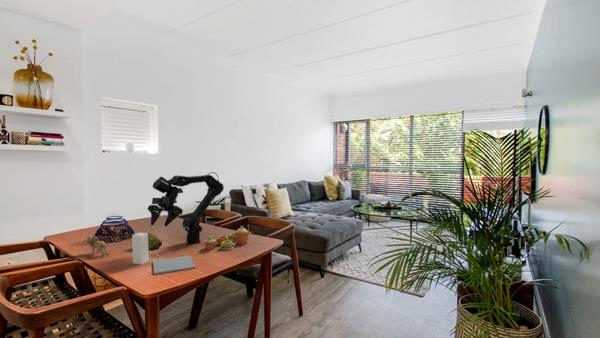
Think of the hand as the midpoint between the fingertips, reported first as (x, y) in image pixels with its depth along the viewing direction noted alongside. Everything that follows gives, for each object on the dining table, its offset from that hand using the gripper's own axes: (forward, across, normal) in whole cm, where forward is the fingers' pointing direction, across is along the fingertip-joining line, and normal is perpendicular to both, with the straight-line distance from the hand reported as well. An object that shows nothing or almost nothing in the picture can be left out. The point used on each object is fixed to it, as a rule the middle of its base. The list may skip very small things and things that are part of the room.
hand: (158, 225), depth 148 cm
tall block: (+18, +2, -2) cm, 19 cm away
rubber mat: (+17, +18, 0) cm, 25 cm away
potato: (+9, -13, +12) cm, 19 cm away
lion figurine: (+18, -27, -4) cm, 32 cm away
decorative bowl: (+5, -47, +15) cm, 50 cm away
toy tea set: (-1, +22, +30) cm, 37 cm away
